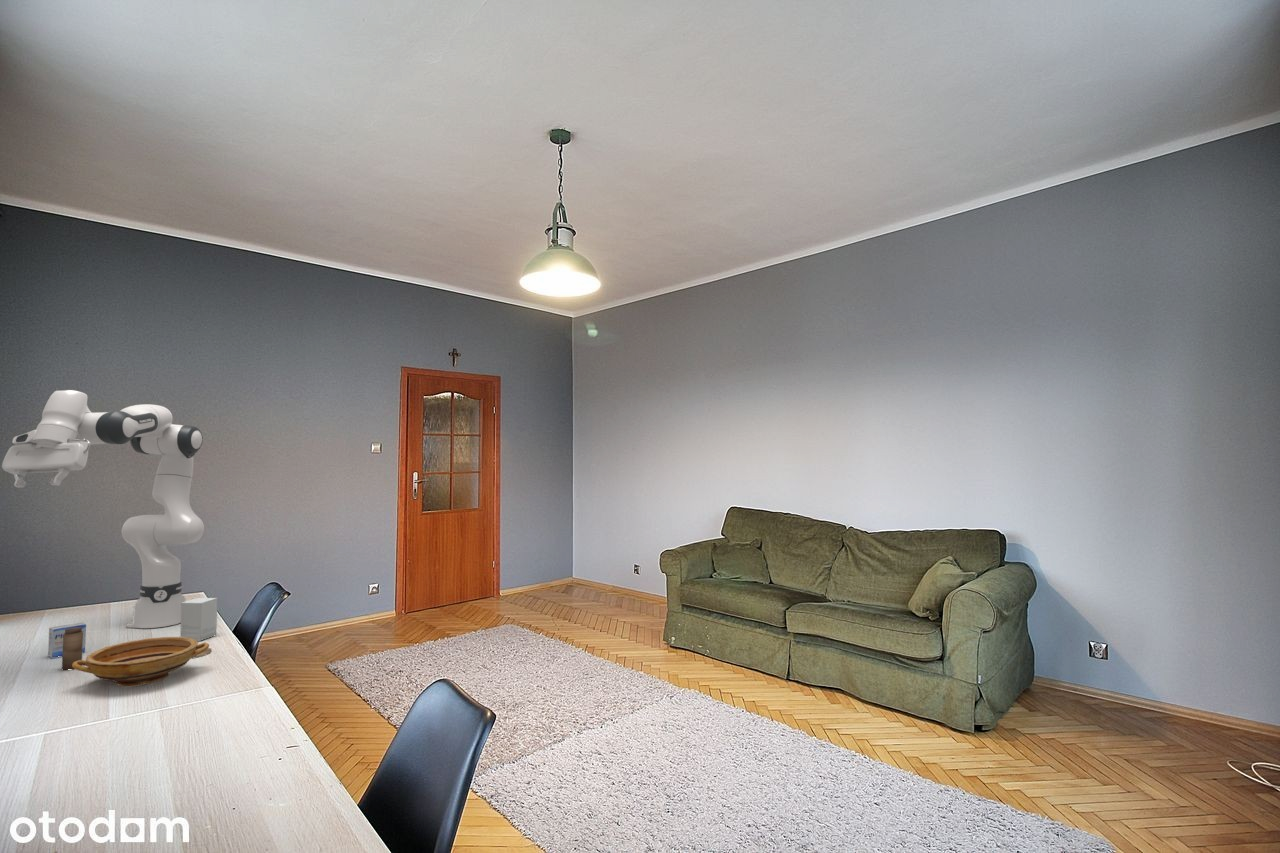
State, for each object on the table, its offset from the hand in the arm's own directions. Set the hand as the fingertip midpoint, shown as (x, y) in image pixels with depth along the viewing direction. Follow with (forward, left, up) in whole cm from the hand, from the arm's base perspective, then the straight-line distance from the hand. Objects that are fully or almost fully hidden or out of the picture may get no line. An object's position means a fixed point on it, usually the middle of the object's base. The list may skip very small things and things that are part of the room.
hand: (36, 485), depth 175 cm
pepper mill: (-5, +9, -52) cm, 53 cm away
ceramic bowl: (+17, +26, -53) cm, 61 cm away
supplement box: (-20, +39, -53) cm, 68 cm away
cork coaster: (-1, +37, -52) cm, 64 cm away
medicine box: (-22, +6, -53) cm, 57 cm away
